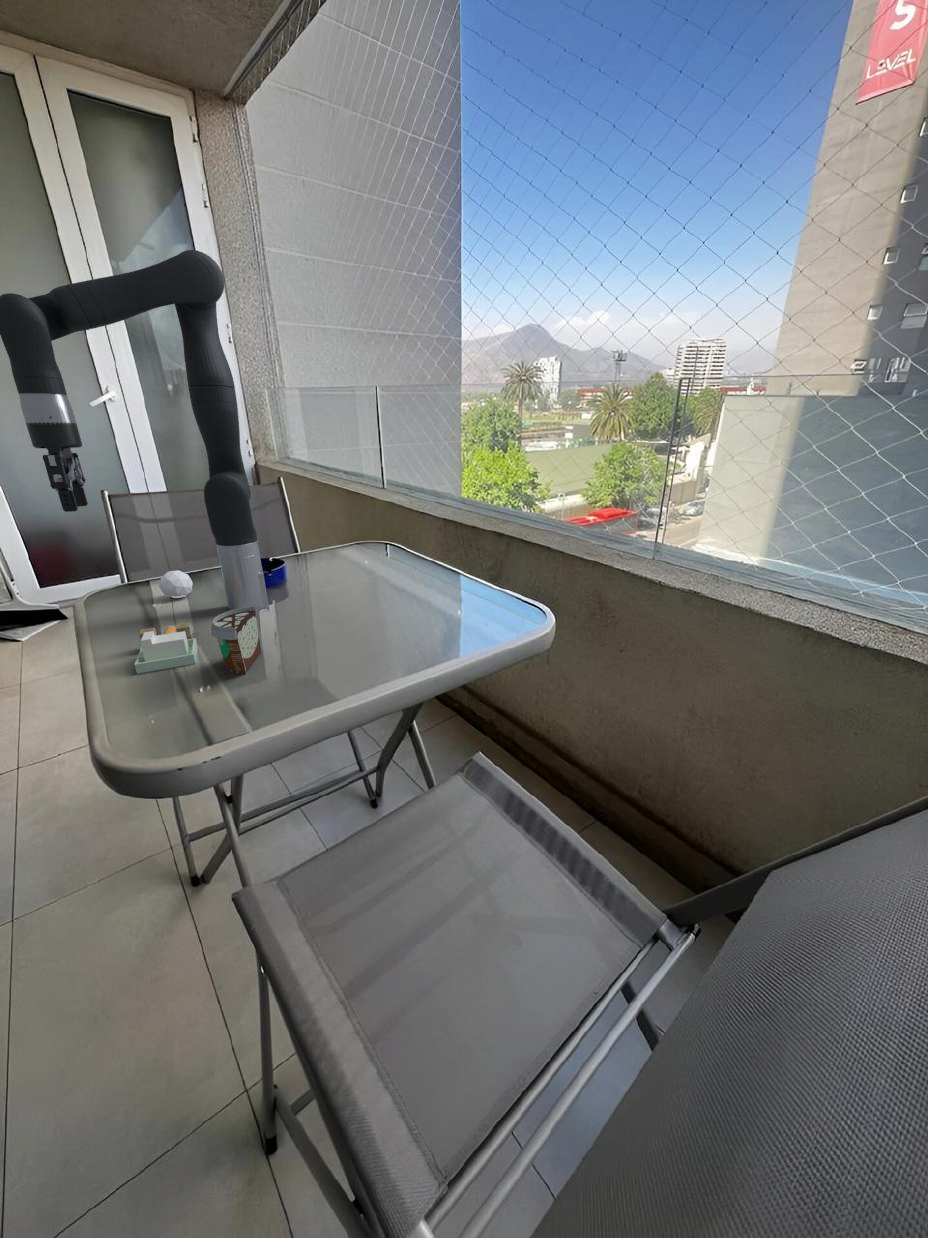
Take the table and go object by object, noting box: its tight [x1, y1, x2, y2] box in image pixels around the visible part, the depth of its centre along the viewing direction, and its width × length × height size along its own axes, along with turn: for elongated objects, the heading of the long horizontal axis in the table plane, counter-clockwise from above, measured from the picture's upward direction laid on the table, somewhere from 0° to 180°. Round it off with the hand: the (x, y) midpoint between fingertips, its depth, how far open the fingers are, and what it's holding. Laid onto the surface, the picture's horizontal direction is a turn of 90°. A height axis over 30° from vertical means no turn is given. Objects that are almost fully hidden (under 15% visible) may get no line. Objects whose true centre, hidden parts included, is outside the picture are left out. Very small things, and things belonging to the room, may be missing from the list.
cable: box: [163, 625, 176, 634], centre depth 103 cm, size 2×9×2 cm, turn 25°
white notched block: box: [140, 631, 189, 662], centre depth 94 cm, size 7×4×5 cm, turn 115°
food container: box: [210, 607, 263, 675], centre depth 91 cm, size 12×6×10 cm, turn 5°
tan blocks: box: [139, 621, 194, 640], centre depth 101 cm, size 9×3×4 cm, turn 115°
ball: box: [158, 570, 194, 597], centre depth 132 cm, size 8×8×8 cm
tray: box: [134, 638, 199, 675], centre depth 95 cm, size 10×9×2 cm
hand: (76, 508), depth 97 cm, fingers open, 8 cm apart
